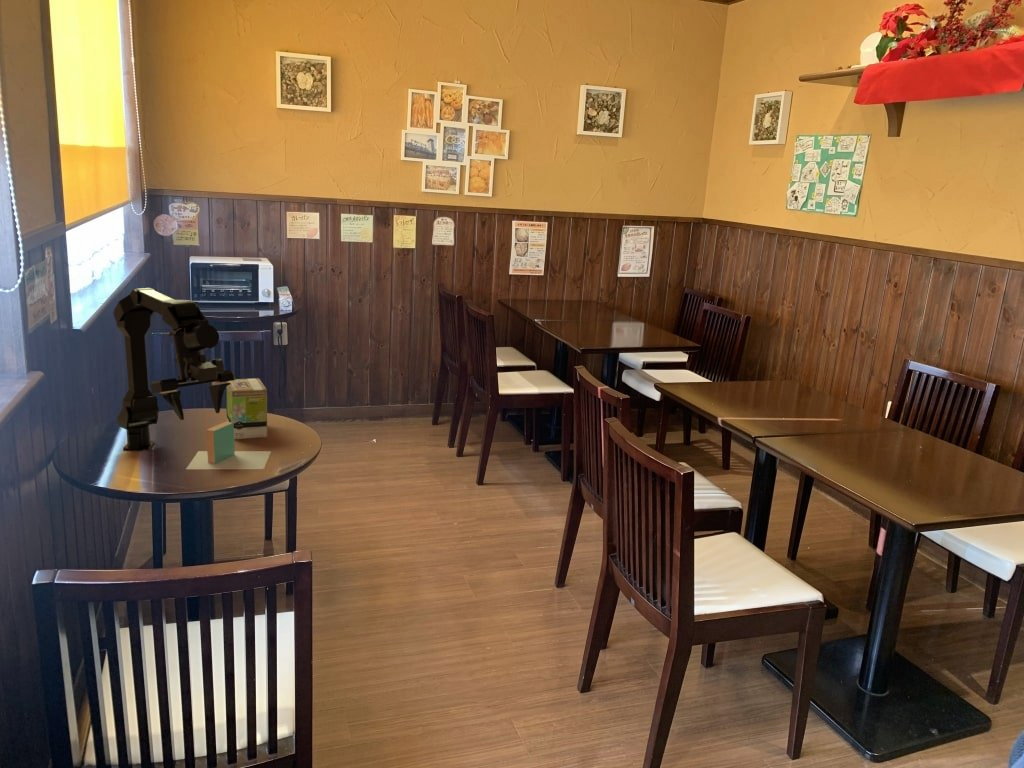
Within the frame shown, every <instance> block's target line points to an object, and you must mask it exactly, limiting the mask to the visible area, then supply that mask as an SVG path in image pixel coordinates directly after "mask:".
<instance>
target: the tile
mask: <svg viewBox="0 0 1024 768" xmlns="http://www.w3.org/2000/svg"><path fill="white" fill-rule="evenodd" d="M206 444H207V445H206V446H207V447H206V449H207V450H206V451H207V453H208V463H213V464H217V463H219V462H221V461H223V460H225V459H227V458H229V457H231V456H233V455H235V451H236V450H235V439H234V423H232V422H227V421H225V422H221V423H219V424H216V425H213V426H212V427H210V428H207V429H206Z"/></svg>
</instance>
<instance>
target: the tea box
mask: <svg viewBox="0 0 1024 768" xmlns="http://www.w3.org/2000/svg"><path fill="white" fill-rule="evenodd" d="M228 383H231V384H230V385H228V386H227V387H226V388H225V405H226V407H225V409H226V414H225V415H226V422H232V423H234V440H242V439H243V440H244V439H252V438H263V437H264V438H267V436H268V389H267V388H266V386H265V385H264V383H263V382H262V380H261V379H260V378H256V377H255V378H237V379H236V378H235V380H233V381H228Z"/></svg>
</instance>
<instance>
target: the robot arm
mask: <svg viewBox="0 0 1024 768" xmlns="http://www.w3.org/2000/svg"><path fill="white" fill-rule="evenodd" d="M155 313H157V314H158V315H161V320H162V321H163V322H164V323H165V324H167V325H168V326H170V327H171V330H170V331H169V334H168V336H169V338H172V340H173V345H174V350H175V351H174V352H175V357H176V358H175V359H173V360H174V364H177V367H178V373H179V375H177V376H176V377H177V378H175V377H173V378H165V379H160V380H154V381H152V382H151V385H150V386H149V375H148V374H149V372H148V361H147V349H146V345H147V344H146V336H147V333H148V331H149V330H150V328H151V327H152V317H153V315H154V314H155ZM113 317H114V320H115V321H116V322H115V324H116V327H117V329H118V330H119V332H121V333H122V335H123V336H124V337H123V338H124V345H125V358H126V361H125V362H126V370H127V371H126V372H127V374H126V375H127V383H128V385H127V386H128V390H127V392H126V393H125V395H124V397H123V398H122V408H121V410H120V412H119V414H118V416H116V417H117V418H116V421H117V425H118V427H120V428H122V429H124V430H126V444H125V445H124V446H123V447H122V450H123V451H125V450H126V451H127V450H129V451H135V450H137V451H147V450H150V449H151V447H153V445H154V444H155V440H151V431H150V429H151V428H150V427H151V425H156V424H158V419H159V414H160V413H159V412H160V409H159V405H158V398H157V396H158V397H162V398H163V399H164V400H165V402H167V403H168V405H169V406H170V407H171V409H172V410H173V411H174V413H175V414H176V416H177V417H178V419H179V420H180V421H183V420H184V419H185V418H184V417H185V415H184V410H183V406H182V402H181V390H178V388H183V387H191V386H196V385H201V384H202V385H203V384H208V383H210V384H211V385H208V388H209V393H210V397H211V401H212V405H213V406H212V407H213V409H214V411H215V414H219V413H220V411H221V407H222V406H221V405H222V402H223V395H224V392H225V391H226V387H227V386H228V385H230V384H231V383H228V381H233V380H235V379H236V377H235V373H234V371H232V370H231V369H226V370H225V367H224V365H225V364H224V362H223V359H222V358H214V359H212V360H211V361H207V358H206V355H205V354H202V351H203V350H209V349H213V348H215V347H216V346H217V345H218V343H219V341H220V334H219V332H218V330H217V328H216V327H214V326H213V325H211V324H209V323H210V322H209V319H207V317H206V316H205V315H204V314H203V312H202V310H201V309H200V308H199V306H198V305H197V303H196V302H195V301H194V300H191V299H190V300H189V299H188V300H187V299H174V298H172V297H169V296H168V295H166V294H164V293H160V292H158V291H156V290H155V289H154V288H151V287H145V288H144V287H142V288H135V289H132V290H131V292H130V293H129V294H128V295H126V296H125V297H123V298H122V299H120V300H119V301H118V302H117V303H116V305H115V307H114V309H113ZM189 380H190V381H189ZM149 387H150V388H149ZM154 394H157V396H156V395H154Z"/></svg>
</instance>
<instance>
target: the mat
mask: <svg viewBox="0 0 1024 768" xmlns="http://www.w3.org/2000/svg"><path fill="white" fill-rule="evenodd" d="M234 451H235V455H233V456H231V457H229V458H227V459H225V460H223V461H221V462H219V463H217V464H213V463H208V453H207V450H201V451H199V450H198V451H197V453H196V454H195V455H194V457H193V458H192V460H191V461H190V463H189V464H188V466H187V467H186V468H185V470H265V467H266V465H267V462H268V460H269V458H270V456H271V452H272V451H270V450H268V451H267V450H264V451H263V450H262V451H261V450H259V451H256V450H253V451H252V450H249V451H248V450H244V451H243V450H241V451H239V450H238V451H237V450H234Z"/></svg>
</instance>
